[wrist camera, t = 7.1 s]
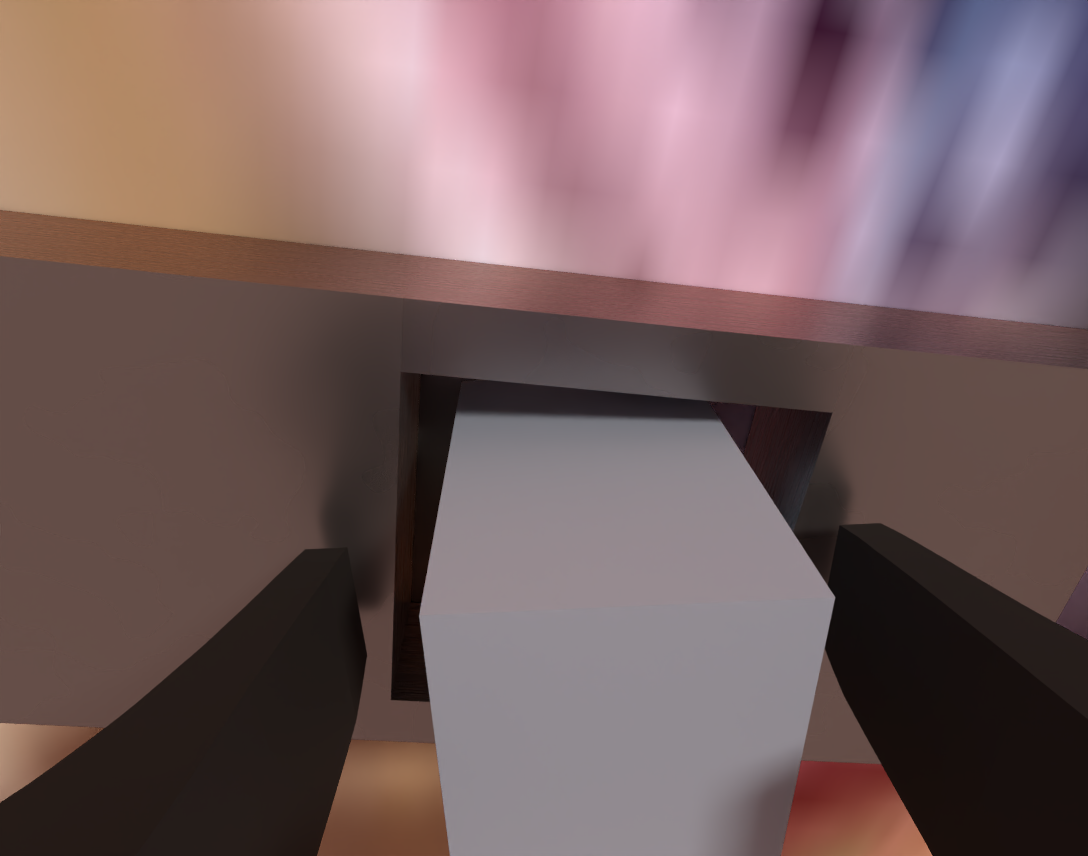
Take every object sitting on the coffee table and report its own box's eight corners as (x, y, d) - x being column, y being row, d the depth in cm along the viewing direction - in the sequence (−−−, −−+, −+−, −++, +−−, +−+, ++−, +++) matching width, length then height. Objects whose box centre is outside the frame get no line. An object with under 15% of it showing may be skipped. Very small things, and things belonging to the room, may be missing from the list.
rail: (1464, 370, 13) (1674, 430, 10) (1227, 688, 16) (1344, 786, 14) (-189, 188, 10) (-392, 215, 8) (-50, 612, 13) (-163, 715, 11)
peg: (689, 372, 12) (835, 598, 7) (675, 558, 14) (780, 856, 8) (461, 380, 12) (418, 615, 6) (476, 567, 14) (451, 874, 8)
